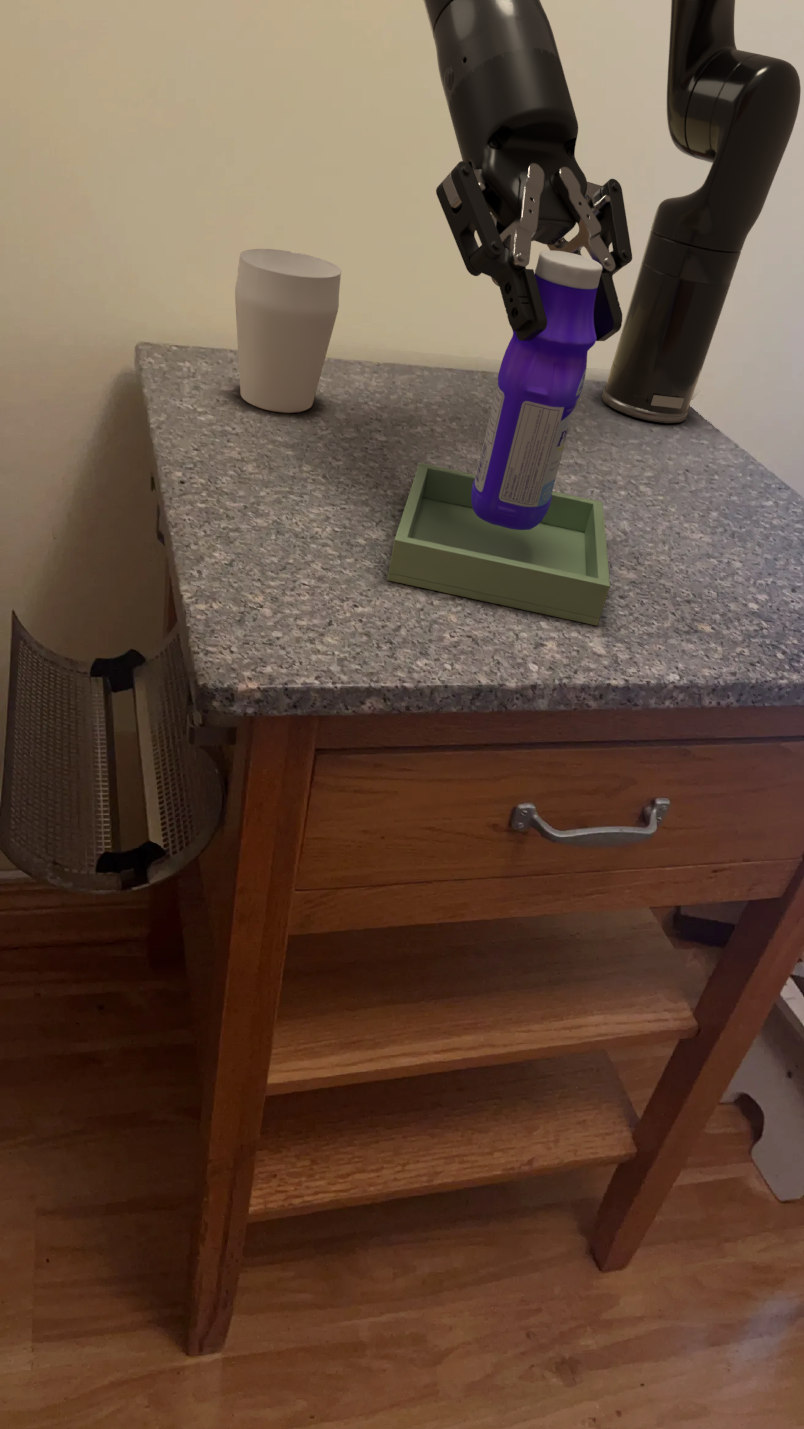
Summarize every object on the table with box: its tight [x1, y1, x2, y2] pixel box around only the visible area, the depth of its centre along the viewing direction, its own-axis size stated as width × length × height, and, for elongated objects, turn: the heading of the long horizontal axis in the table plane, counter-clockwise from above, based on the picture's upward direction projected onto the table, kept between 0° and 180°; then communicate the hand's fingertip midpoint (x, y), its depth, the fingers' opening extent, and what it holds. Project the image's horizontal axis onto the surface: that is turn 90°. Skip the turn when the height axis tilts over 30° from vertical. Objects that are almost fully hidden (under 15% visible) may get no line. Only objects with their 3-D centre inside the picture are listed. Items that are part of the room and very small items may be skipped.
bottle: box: [471, 249, 603, 530], centre depth 69 cm, size 7×6×17 cm
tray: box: [386, 462, 611, 626], centre depth 75 cm, size 15×15×3 cm
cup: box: [234, 248, 342, 414], centre depth 92 cm, size 9×9×12 cm
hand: (571, 334), depth 66 cm, fingers closed on bottle, 5 cm apart
